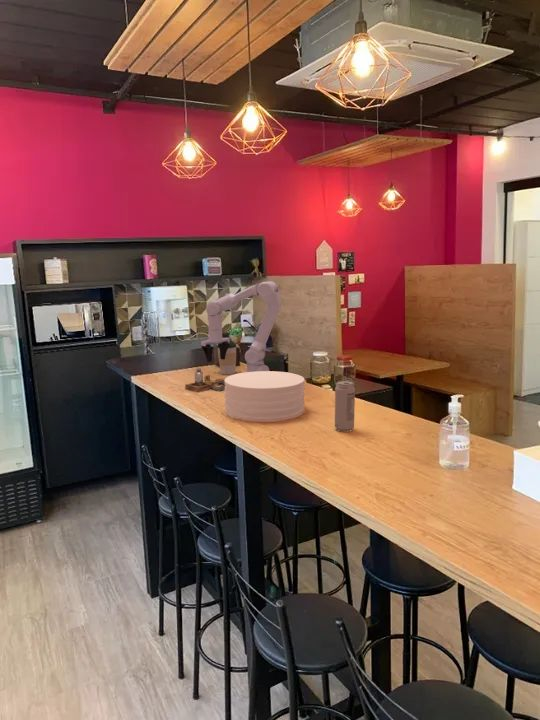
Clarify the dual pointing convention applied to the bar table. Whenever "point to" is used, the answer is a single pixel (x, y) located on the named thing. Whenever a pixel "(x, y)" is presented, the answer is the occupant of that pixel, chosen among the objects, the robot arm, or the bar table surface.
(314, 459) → the bar table surface
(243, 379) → the plate stack
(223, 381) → the socket collar
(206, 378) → the golden l-shaped block
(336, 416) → the energy drink can
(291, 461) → the bar table surface
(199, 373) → the peg
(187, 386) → the square wooden tray
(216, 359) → the potted plant
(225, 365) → the coffee cup
